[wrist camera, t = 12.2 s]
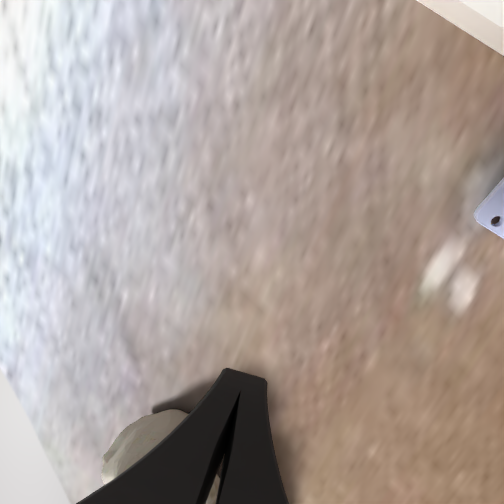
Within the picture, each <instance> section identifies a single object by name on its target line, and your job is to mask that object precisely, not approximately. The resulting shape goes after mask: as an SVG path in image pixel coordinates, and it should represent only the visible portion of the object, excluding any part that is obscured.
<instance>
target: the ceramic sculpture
mask: <svg viewBox="0 0 504 504" xmlns="http://www.w3.org/2000/svg"><path fill="white" fill-rule="evenodd" d="M187 416H188V413H185V412H183V411H181V410H177V409H169V410H165V411H162V412H159V413H156V414H152V415H147V416H144V417H142V418H140V419H139V420H137V421H136V422H134V423H132V424H130V425H129V426H128V427H127V428H125V429H124V430H123V431H122V432H121V433H120V434H119V436H118V437H117V438H116V440H115V441H114V443H113V444H112V446H111V447H110V449H109V450H108V452H107V453H106V454H105V455H104V456H103V458H102V461H103V468H102V475H101V476H102V481H103V483H104V485H106V484H107V483H109V482H110V481H112V480H113V479H114V478H116V477H117V476H119V475H120V474H121V473H123V472H124V471H125V470H127V469H128V468H129V467H131V466H132V465H133V464H134V463H136V462H137V461H138V460H140V459H141V458H142V457H143V456H145V455H146V454H147V453H148V452H149V451H151V450H152V449H153V448H154V447H155V446H156V445H158V444H159V443H160V442H161V441H162V440H163V439H164V438H165V437H166V436H167V435H169V434H170V433H171V432H172V431H173V430H174V429H175V428H176V427H177V426H178V425H179V424H180V423H181V422H182V421H183V420H184V419H185V418H186V417H187ZM219 482H220V478H219V477H218V475H216V477H215V480H214V483H213V485H212V488H211V491H210V493H209V496H208V499H207V501H206V504H216V498H217V493H218V487H219Z"/></svg>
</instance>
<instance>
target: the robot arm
mask: <svg viewBox="0 0 504 504" xmlns="http://www.w3.org/2000/svg"><path fill="white" fill-rule="evenodd" d="M495 216H500V220H499V222H498V223H496V224H491V220H492V218H494V217H495ZM474 218H475V220H476V221H477V222H478V223H479V224H480V225H482V226H484V227H485V228H487V229H489V230H490V231H492V232H493V233H495V234H497V235H498V236H500V237H502V238H503V239H504V178H503V179H502V180H501V181H500V182H499V183H498V184H497V185H496V187H495V188H494V189H493V190H492V191H491V192H490V193H489V195H488V196H487V197H486V198H485V199H484V200H483V201H482V203H481V204H480V205H479V206H478V207H477V208H476V210H475V212H474ZM224 454H225V455H224ZM223 456H224V460H223V466H222V471H221V476H220V482H219V487H218V493H217V498H216V504H289V503H288V500H287V496H286V493H285V490H284V487H283V483H282V480H281V476H280V472H279V468H278V464H277V460H276V456H275V451H274V446H273V441H272V435H271V429H270V423H269V416H268V406H267V381H266V380H265V379H264V378H260V377H257V376H253V375H250V374H247V373H243V372H240V371H236V370H233V369H229V368H226V369H223V370H222V372H221V374H220V376H219V377H218V379H217V380H216V382H215V383H214V385H213V386H212V387H211V389H210V390H209V391H208V392H207V394H206V395H205V396H204V397H203V399H202V400H201V401H200V402H199V403H198V404H197V405H196V407H195V408H194V409H193V410H192V411H191V412H190V413H189V414H188V416H187V417H186V418H185V419H184V420H183V421H182V422H181V423H180V424H179V425H178V426H177V427H176V428H175V429H174V430H173V431H172V432H171V433H170V434H169V435H167V436H166V437H165V438H164V439H163V440H162V441H161V442H160V443H159V444H158V445H156V446H155V447H154V448H153V449H152V450H151V451H149V452H148V453H147V454H146V455H145V456H143V457H142V458H141V459H140V460H138V461H137V462H136V463H134V464H133V465H132V466H131V467H129V468H128V469H127V470H125V471H124V472H123V473H121V474H120V475H119V476H117V477H116V478H114V479H113V480H112V481H110V482H109V483H107V484H106V485H104V486H103V487H101V488H100V489H98V490H96V491H95V492H93V493H92V494H90V495H89V496H87V497H86V498H84V499H83V500H81V501H80V502H78V503H76V504H206V501H207V499H208V496H209V493H210V491H211V488H212V485H213V483H214V480H215V477H216V475H217V472H218V470H219V467H220V464H221V462H222V459H223Z"/></svg>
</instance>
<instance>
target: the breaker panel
mask: <svg viewBox="0 0 504 504" xmlns="http://www.w3.org/2000/svg"><path fill="white" fill-rule="evenodd" d="M416 1H418V2H420V3H421V4H423V5H424V6H426V7H427V8H429V9H431V10H432V11H434V12H435V13H437V14H439V15H440V16H442V17H443V18H445V19H446V20H448V21H450V22H451V23H453V24H454V25H456V26H457V27H459V28H461V29H462V30H464V31H465V32H467V33H468V34H470V35H472V36H473V37H475V38H476V39H478V40H479V41H481V42H483V43H484V44H486V45H487V46H489V47H490V48H492V49H494V50H495V51H497V52H498V53H500V54H501V55H503V56H504V0H416Z"/></svg>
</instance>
